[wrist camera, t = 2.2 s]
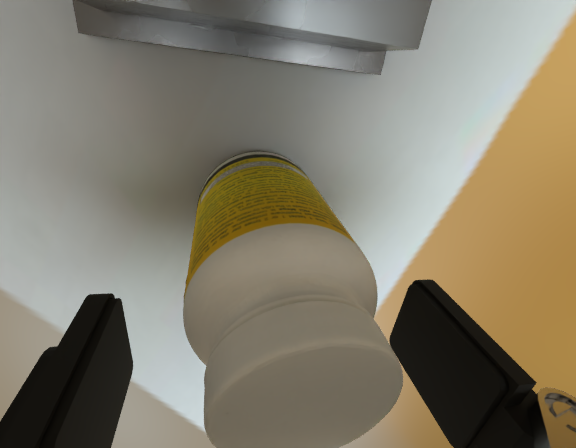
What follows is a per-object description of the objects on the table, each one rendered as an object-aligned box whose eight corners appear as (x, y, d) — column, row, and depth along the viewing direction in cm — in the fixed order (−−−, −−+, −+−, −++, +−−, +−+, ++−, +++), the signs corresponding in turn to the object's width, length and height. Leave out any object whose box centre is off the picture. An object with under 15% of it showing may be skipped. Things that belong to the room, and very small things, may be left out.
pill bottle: (172, 199, 15) (88, 439, 6) (267, 122, 14) (362, 252, 5) (249, 268, 18) (280, 499, 9) (331, 209, 17) (467, 394, 8)
